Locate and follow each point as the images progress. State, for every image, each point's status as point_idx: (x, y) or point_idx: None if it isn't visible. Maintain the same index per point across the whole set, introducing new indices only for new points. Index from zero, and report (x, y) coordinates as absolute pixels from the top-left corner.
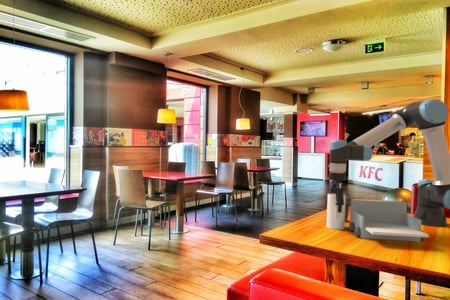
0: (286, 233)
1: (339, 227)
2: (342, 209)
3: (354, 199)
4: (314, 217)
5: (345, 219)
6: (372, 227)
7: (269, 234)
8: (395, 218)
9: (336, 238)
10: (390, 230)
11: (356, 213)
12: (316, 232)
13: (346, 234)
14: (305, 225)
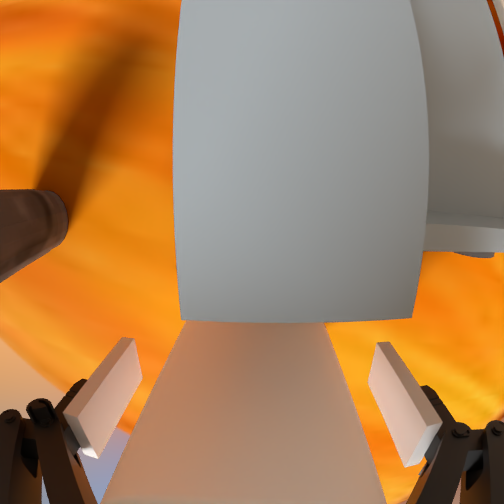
0: (386, 480)
1: None
2: (344, 378)
3: (284, 252)
4: (43, 361)
5: (56, 207)
6: (481, 138)
7: (391, 500)
8: None
9: (473, 344)
10: None
11: (476, 251)
12: (382, 416)
13: (422, 286)
14: None
